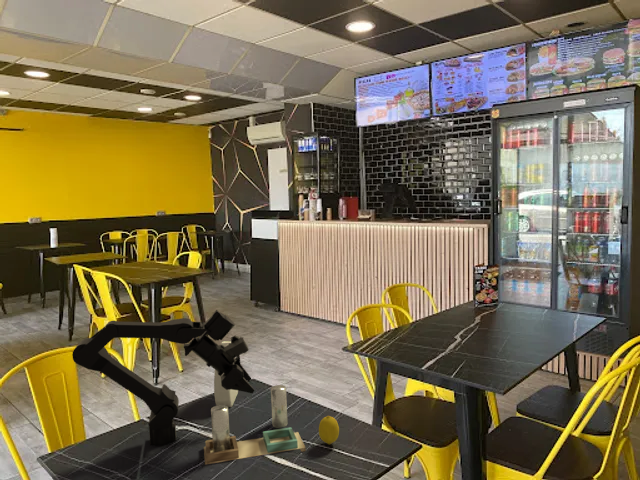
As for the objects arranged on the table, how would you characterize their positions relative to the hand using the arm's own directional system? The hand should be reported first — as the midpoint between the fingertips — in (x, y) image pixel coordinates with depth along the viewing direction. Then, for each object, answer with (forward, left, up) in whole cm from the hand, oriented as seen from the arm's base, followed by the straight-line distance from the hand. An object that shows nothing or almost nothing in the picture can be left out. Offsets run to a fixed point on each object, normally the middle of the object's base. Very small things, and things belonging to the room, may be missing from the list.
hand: (251, 385), depth 143 cm
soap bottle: (-5, +25, -14) cm, 29 cm away
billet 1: (-10, -11, -13) cm, 20 cm away
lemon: (+19, -14, -14) cm, 27 cm away
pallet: (-1, -11, -14) cm, 18 cm away
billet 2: (+8, 0, -14) cm, 16 cm away
